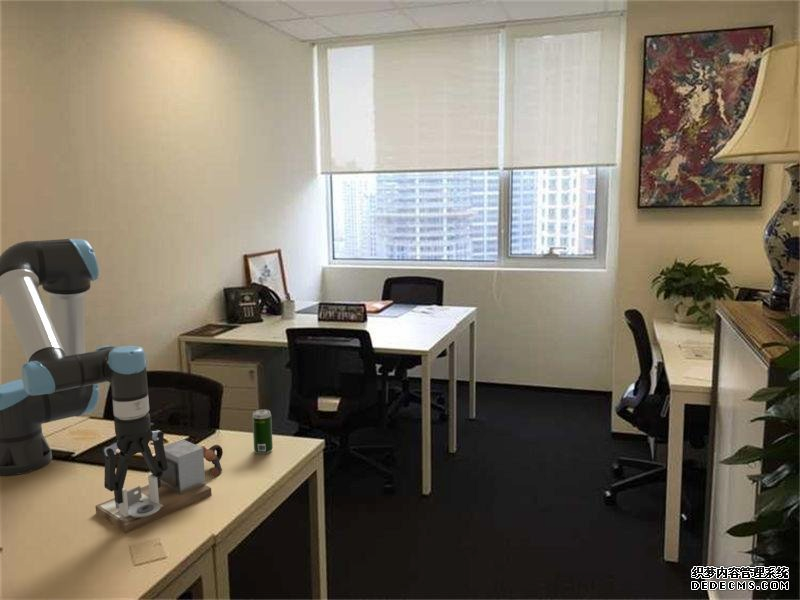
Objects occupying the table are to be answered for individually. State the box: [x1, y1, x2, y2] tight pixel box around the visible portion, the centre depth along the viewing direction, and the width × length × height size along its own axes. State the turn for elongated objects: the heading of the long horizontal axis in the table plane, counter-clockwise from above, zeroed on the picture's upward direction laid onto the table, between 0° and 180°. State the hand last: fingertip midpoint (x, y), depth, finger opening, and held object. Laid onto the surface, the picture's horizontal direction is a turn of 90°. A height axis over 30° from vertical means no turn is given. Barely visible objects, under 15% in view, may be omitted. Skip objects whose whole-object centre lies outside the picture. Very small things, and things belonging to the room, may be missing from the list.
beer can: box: [252, 409, 274, 455], centre depth 182 cm, size 5×5×12 cm
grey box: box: [160, 439, 206, 495], centre depth 157 cm, size 9×8×10 cm
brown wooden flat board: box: [95, 484, 212, 534], centre depth 152 cm, size 14×22×2 cm, turn 141°
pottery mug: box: [200, 444, 224, 479], centre depth 170 cm, size 12×10×8 cm
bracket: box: [115, 486, 161, 517], centre depth 144 cm, size 7×10×4 cm, turn 56°
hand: (139, 507), depth 145 cm, fingers closed on bracket, 7 cm apart
